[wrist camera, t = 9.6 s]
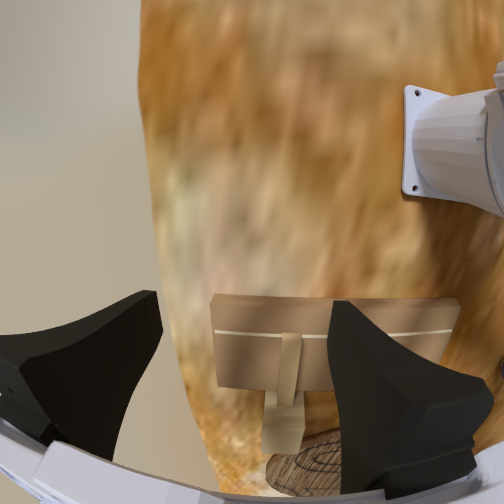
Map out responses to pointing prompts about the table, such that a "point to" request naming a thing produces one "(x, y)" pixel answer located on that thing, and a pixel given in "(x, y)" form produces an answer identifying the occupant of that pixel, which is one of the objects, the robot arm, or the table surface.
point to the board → (314, 334)
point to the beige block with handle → (285, 403)
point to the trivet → (309, 467)
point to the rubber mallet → (502, 367)
